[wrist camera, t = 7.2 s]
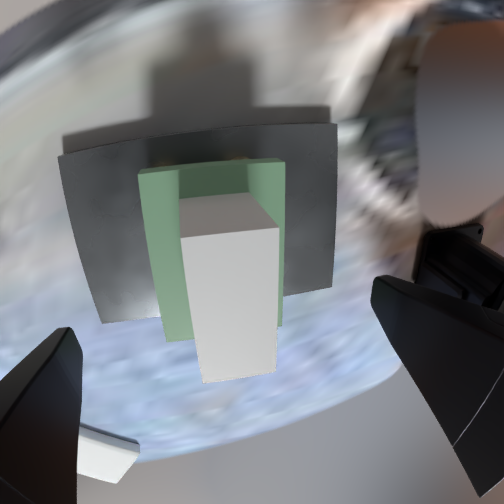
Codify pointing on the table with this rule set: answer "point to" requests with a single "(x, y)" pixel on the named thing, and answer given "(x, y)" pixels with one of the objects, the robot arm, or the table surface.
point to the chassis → (188, 152)
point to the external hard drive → (104, 455)
